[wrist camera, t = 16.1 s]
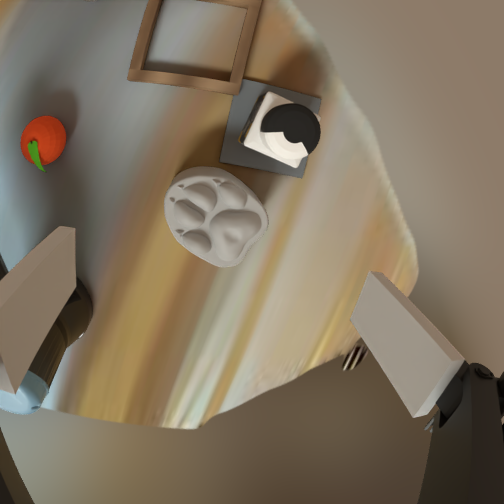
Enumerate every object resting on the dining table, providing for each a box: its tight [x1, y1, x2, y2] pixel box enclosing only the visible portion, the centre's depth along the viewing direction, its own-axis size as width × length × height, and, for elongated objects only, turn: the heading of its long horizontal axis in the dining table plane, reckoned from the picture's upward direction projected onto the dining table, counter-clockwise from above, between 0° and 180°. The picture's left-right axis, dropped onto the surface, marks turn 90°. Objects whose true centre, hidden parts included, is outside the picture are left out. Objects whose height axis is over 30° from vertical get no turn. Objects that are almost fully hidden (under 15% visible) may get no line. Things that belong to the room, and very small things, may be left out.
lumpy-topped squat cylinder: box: [164, 166, 269, 267], centre depth 41 cm, size 10×13×9 cm
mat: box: [219, 79, 321, 178], centre depth 42 cm, size 12×12×1 cm
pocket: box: [127, 0, 262, 96], centre depth 34 cm, size 15×15×2 cm
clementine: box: [21, 116, 66, 172], centre depth 34 cm, size 8×7×7 cm
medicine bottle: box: [238, 92, 321, 168], centre depth 36 cm, size 7×7×12 cm
